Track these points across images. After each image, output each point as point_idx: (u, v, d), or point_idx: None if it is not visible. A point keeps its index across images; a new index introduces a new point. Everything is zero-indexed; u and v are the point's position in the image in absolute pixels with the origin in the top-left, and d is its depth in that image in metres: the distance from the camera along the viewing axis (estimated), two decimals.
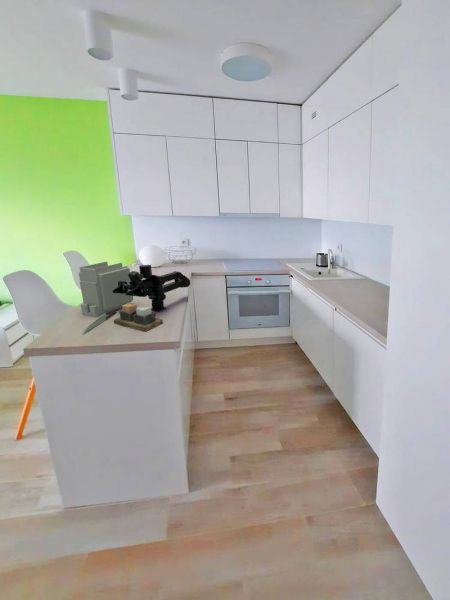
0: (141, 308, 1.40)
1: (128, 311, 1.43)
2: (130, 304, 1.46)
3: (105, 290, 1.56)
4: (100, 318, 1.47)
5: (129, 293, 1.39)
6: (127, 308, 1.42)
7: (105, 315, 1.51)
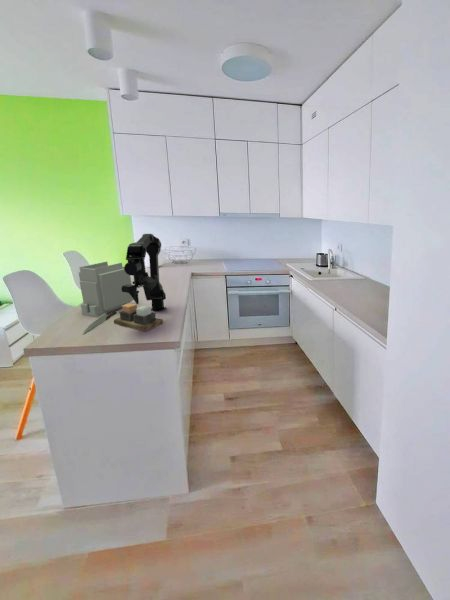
0: (141, 308, 1.40)
1: (128, 311, 1.43)
2: (130, 304, 1.46)
3: (105, 290, 1.56)
4: (100, 318, 1.46)
5: None
6: (127, 308, 1.42)
7: (105, 315, 1.51)
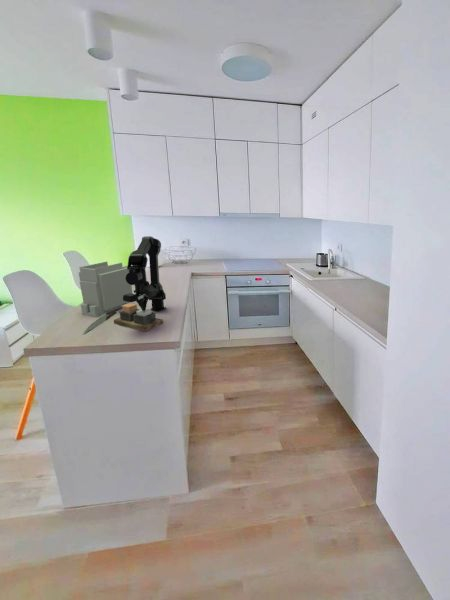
0: (141, 310, 1.40)
1: (128, 311, 1.43)
2: (130, 304, 1.46)
3: (105, 290, 1.56)
4: (100, 318, 1.46)
5: None
6: (127, 308, 1.42)
7: (105, 315, 1.51)
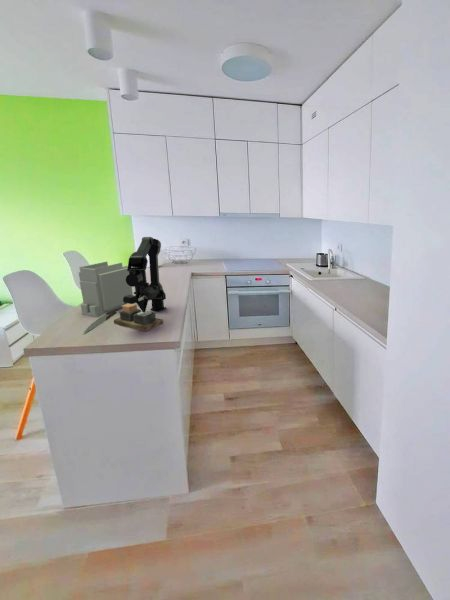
0: (142, 313, 1.41)
1: (128, 311, 1.43)
2: (130, 304, 1.46)
3: (105, 290, 1.56)
4: (100, 318, 1.46)
5: None
6: (127, 308, 1.42)
7: (105, 315, 1.51)
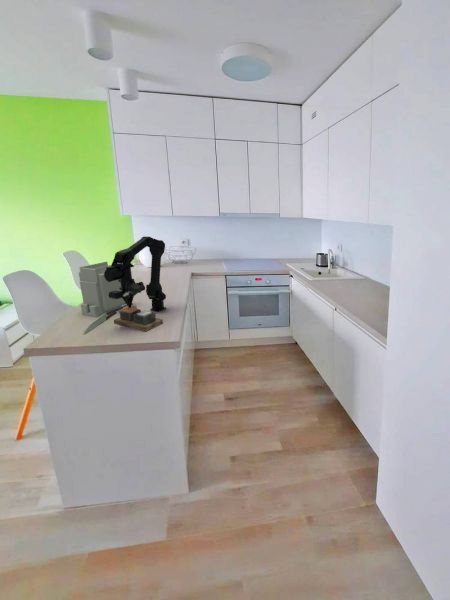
0: (142, 313, 1.41)
1: None
2: (131, 306, 1.46)
3: (105, 290, 1.56)
4: (100, 318, 1.46)
5: None
6: (128, 310, 1.43)
7: (105, 315, 1.51)
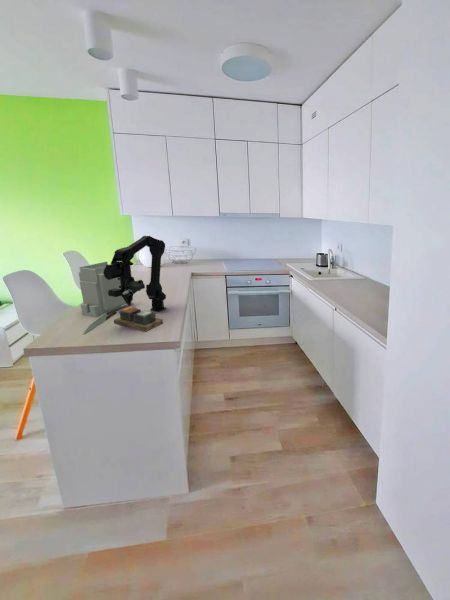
0: (142, 313, 1.41)
1: None
2: (131, 308, 1.46)
3: (105, 290, 1.56)
4: (100, 318, 1.46)
5: None
6: (128, 311, 1.43)
7: (105, 315, 1.51)
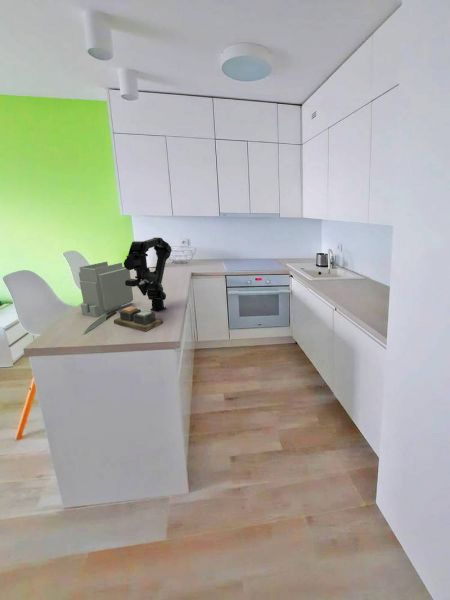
0: (142, 313, 1.41)
1: None
2: (131, 308, 1.46)
3: (105, 290, 1.56)
4: (100, 318, 1.46)
5: None
6: (128, 311, 1.43)
7: (105, 315, 1.51)
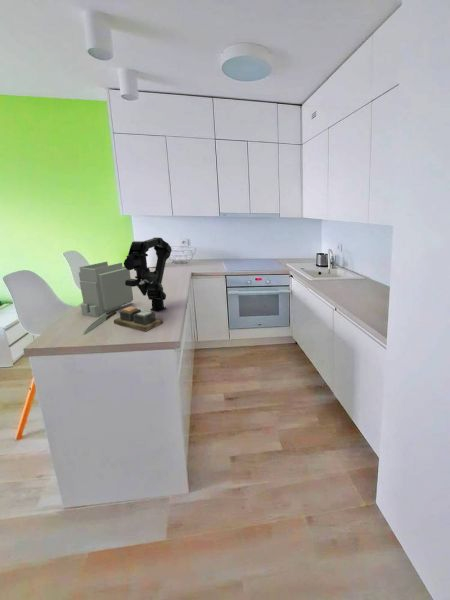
0: (142, 313, 1.41)
1: None
2: (131, 308, 1.46)
3: (105, 290, 1.56)
4: (100, 318, 1.46)
5: None
6: (128, 311, 1.43)
7: (105, 315, 1.51)
